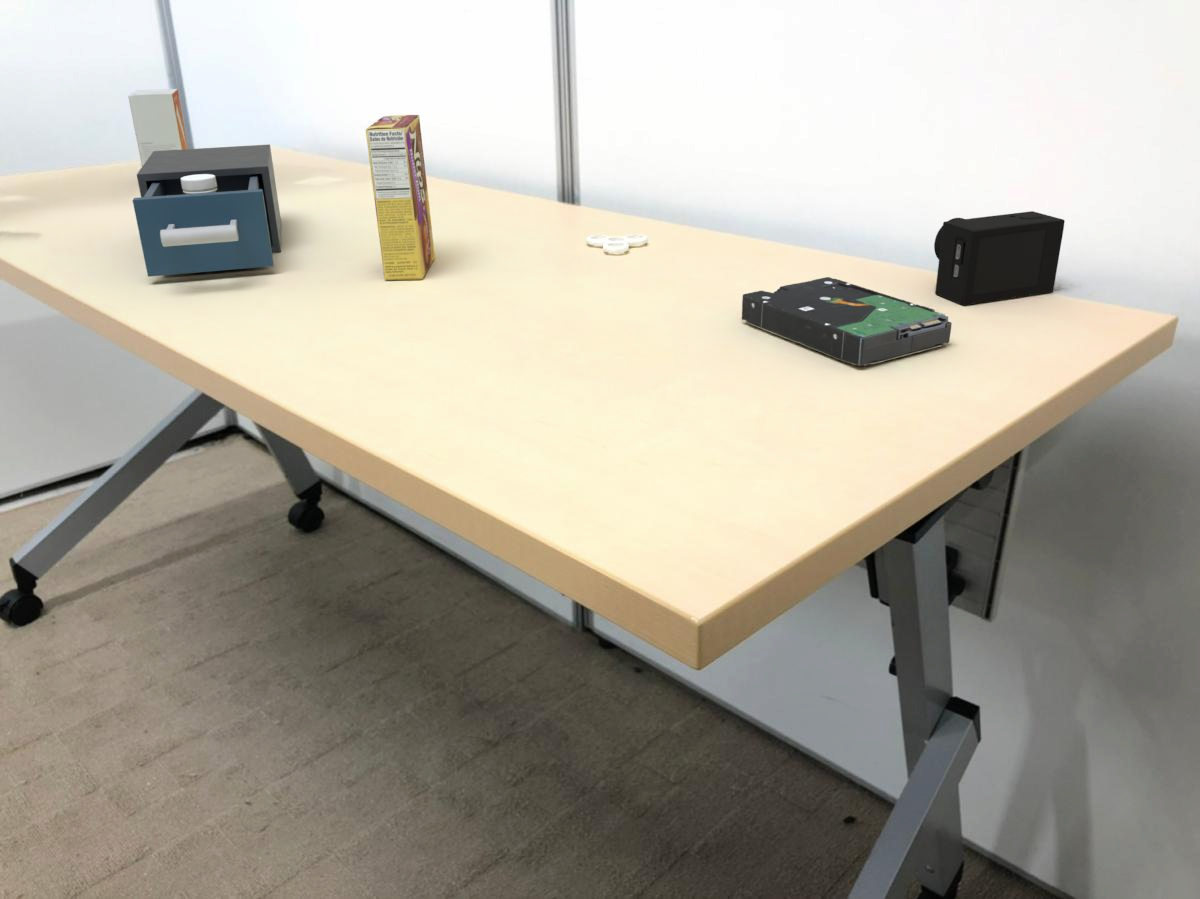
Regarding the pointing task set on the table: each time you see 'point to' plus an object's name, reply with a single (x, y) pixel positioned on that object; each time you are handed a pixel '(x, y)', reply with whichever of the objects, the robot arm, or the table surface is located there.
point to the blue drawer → (204, 227)
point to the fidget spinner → (616, 242)
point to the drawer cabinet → (219, 173)
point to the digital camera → (997, 257)
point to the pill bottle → (199, 184)
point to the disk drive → (846, 320)
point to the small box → (157, 121)
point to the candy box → (401, 196)
